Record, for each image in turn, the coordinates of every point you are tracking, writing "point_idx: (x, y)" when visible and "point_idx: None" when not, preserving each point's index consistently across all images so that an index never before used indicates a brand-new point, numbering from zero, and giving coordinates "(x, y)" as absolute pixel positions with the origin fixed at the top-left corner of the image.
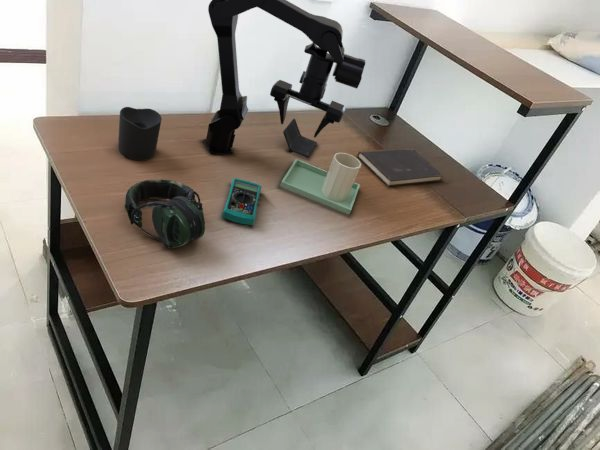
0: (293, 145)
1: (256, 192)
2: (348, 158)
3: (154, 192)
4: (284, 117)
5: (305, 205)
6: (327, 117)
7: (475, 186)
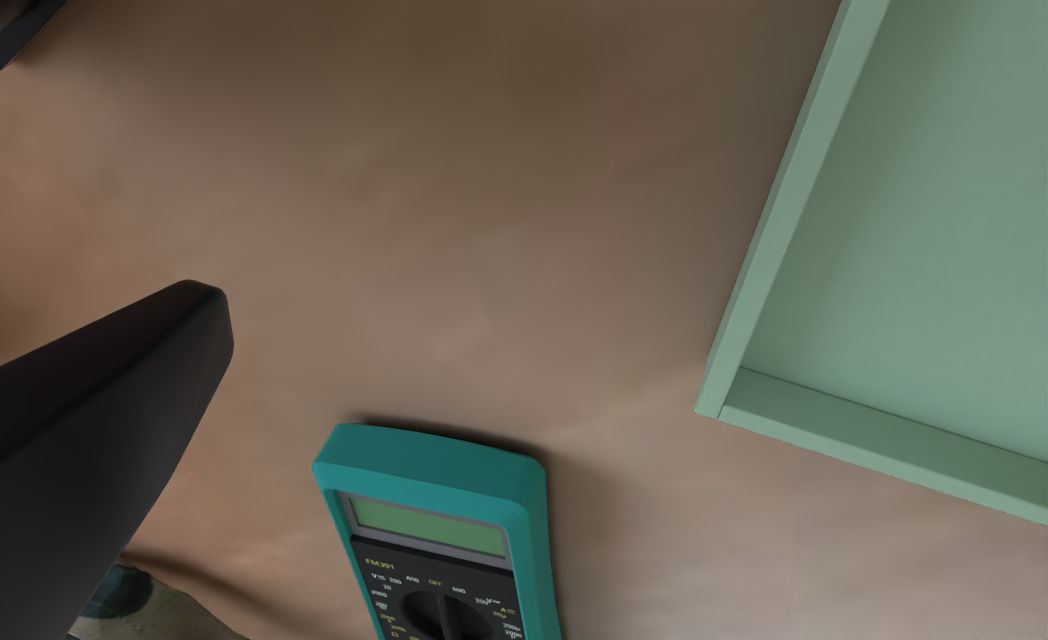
0: None
1: (507, 579)
2: None
3: None
4: (115, 471)
5: (971, 514)
6: None
7: None
